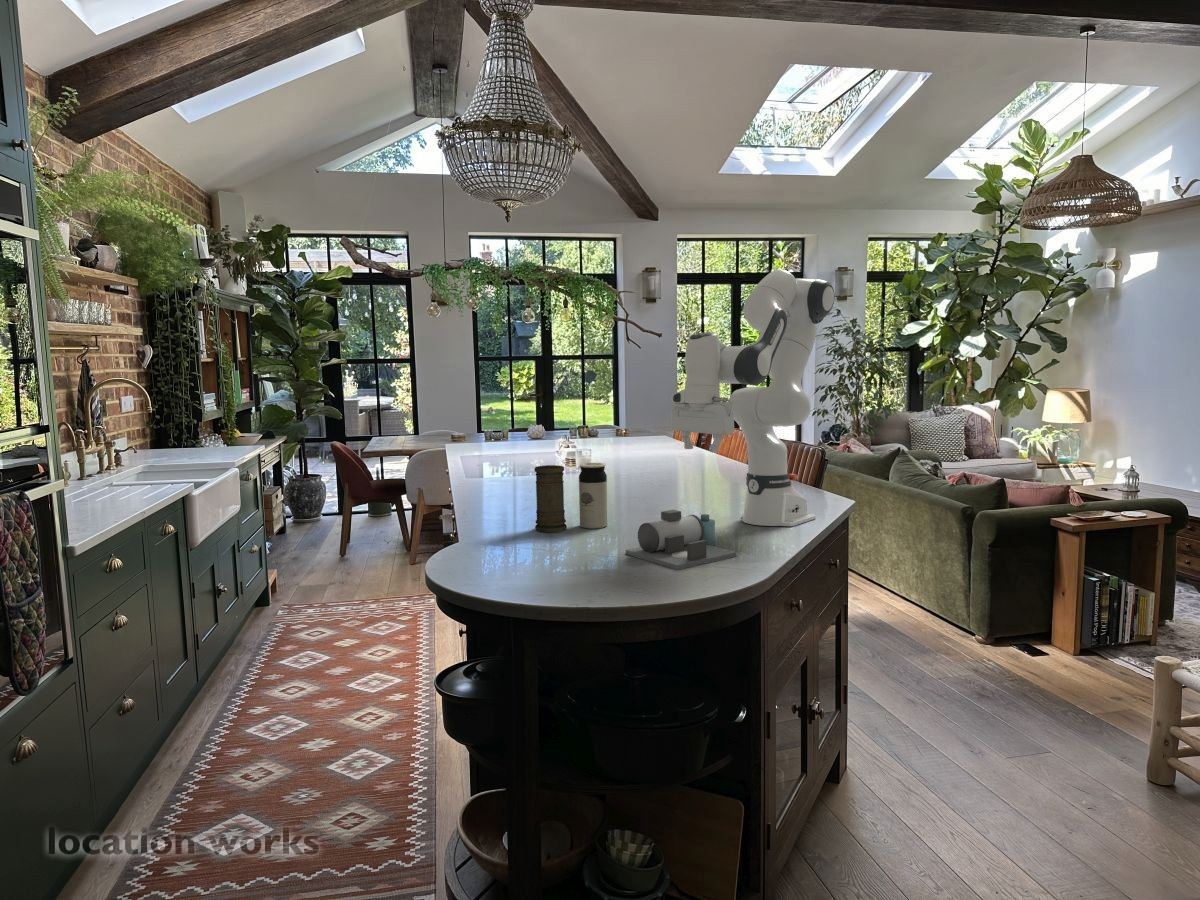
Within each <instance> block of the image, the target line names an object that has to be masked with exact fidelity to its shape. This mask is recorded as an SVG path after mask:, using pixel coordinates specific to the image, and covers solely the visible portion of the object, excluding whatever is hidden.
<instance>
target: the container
mask: <svg viewBox="0 0 1200 900" xmlns="http://www.w3.org/2000/svg"><path fill="white" fill-rule="evenodd" d="M564 471H565V467H564V466H563V465H557V464H556V465H554V464H553V465H552V464H551V465H549V464H548V465H538V466H535V467H534V473H535V478H536V479H535V491H536V493H535V494H536V495H535V496H536V511H535V513H536V520H535V524H536V525H535V527H534V529H535V531H536V532H539V533H542V532H543V533H545V534H554V533H556V534H557V533H563V532H565V531H567V527H568V526H567V524H566V523H567V520H566V518H565V503H564V502H565V498H564V495H565V493H564V491H565V490H564Z"/></svg>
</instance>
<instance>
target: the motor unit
mask: <svg viewBox="0 0 1200 900" xmlns="http://www.w3.org/2000/svg"><path fill="white" fill-rule="evenodd" d="M703 536H704V526H703V523H702V521H701V517H699V516H698V515H695V514H690V515H686V516H682V511H681V510H677V509H669V510H664V511H663V510H662V511H661V512H660V520H657V521H652V522H644V523H642V524H641V525H640V526H639V527H638V530H637V541H638V543H639V544H638V545H639V546H640V547H639V546H638V547H634V548H633V547H632V548H628V549H625V555H628V556H631V557H635V558H638V559H642V560H644V561H648V562H651V563H654V564H656V565H657V564H658V565H661V566H664V567H667V568H669V569H670V568H671V569H674V570H682V569H686V568H691V567H695V566H700V565H704V564H708V563H709V564H710V563H713V562H717V561H722V560H726V559H730V558H735V556H736V557H737V551H734V550H729V549H726V548H721V547H718V546H714V545H711V546H710V545H706V541H705V540H702V539H703Z"/></svg>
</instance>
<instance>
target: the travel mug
mask: <svg viewBox="0 0 1200 900" xmlns="http://www.w3.org/2000/svg"><path fill="white" fill-rule="evenodd" d="M606 465H607V464H606V463H603V462H584V463H580V464H579V467H580V473H579V474H578V493H579V495H578V497H579V500H578V501H579V505H578V506H579V526H580V527H581V528H583V529H589V530H593V529H594V530H595V529H597V528H598V529H603V528H606V527H607V526H608V476H607V474H606V471H605V469H606V468H605V467H606Z"/></svg>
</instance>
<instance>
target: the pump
mask: <svg viewBox="0 0 1200 900" xmlns="http://www.w3.org/2000/svg"><path fill="white" fill-rule="evenodd" d="M700 519H701V521H702V523H703V526H704V536H703V539H702V540H705V541H706V545H710V546H714V545H716V539H715V538H716V526H715V525H716V523H715V522H716V521H715V520H714V519H712V518H710V514H707V513H702V514H700Z"/></svg>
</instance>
